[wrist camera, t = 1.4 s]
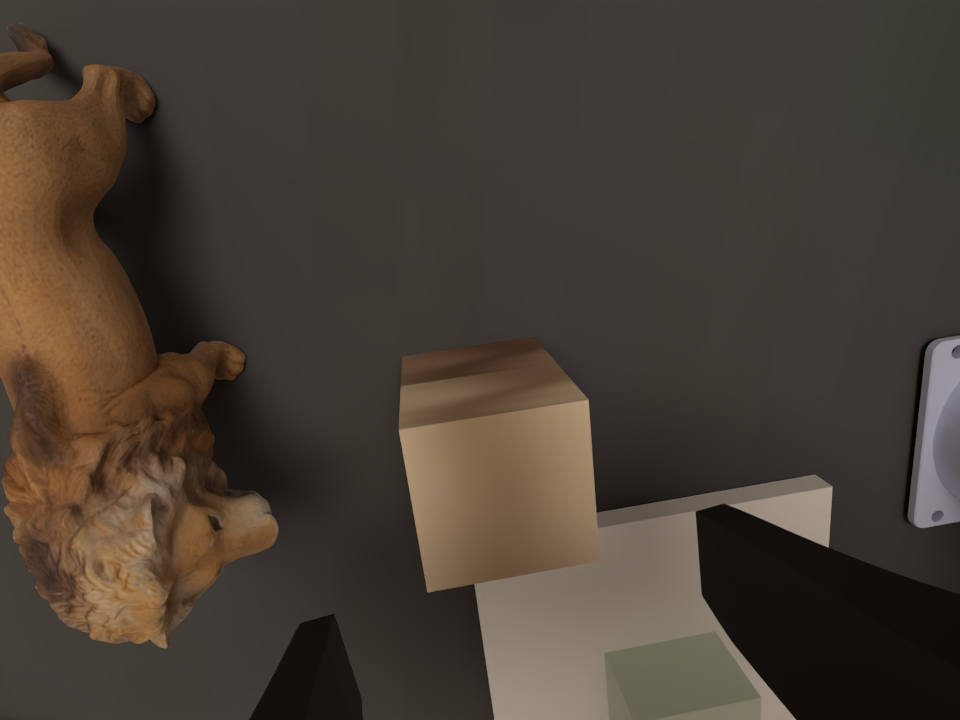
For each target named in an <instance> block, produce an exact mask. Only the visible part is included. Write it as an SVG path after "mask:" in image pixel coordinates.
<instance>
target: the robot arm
mask: <svg viewBox="0 0 960 720" xmlns="http://www.w3.org/2000/svg"><path fill="white" fill-rule="evenodd" d="M954 347H955V350H954V352H953V353H952V350H953V349H954ZM695 512H696V525H697V539H698V552H699V566H700V579H701V593H702V596H703V598H704V600H705V601H706V603H707V604H708V606H709V608H710V609H711V611H712V612H713V614H714V616H715V617H716V619H717V620H718V622H719V623H720V625H721V626H722V628H723V629H724V631H725V632H726V634H727V635H728V637H729V638H730V640H731V641H732V643H733V644H734V645H735V646H736V648H737V649H738V650H739V651H740V653H741V654H742V655H743V656H744V658H745V659H746V660H747V661H748V662H749V664H750V665H751V666H752V667H753V669H754V670H755V671H756V672H757V673H758V675H759V676H760V677H761V678H762V679H763V681H764V682H765V683H766V684H767V685H768V687H769V688H770V689H771V690H772V691H773V693H774V694H775V695H776V696H777V697H778V699H779V700H780V701H781V702H782V703H783V705H784V706H785V707H786V708H787V709H788V711H789V712H790V713H791V714H792V715H793V717H794V718H795V719H796V720H960V594H957V593H954V592H950V591H947V590H944V589H941V588H937V587H934V586H931V585H928V584H925V583H922V582H919V581H916V580H913V579H910V578H907V577H904V576H901V575H898V574H896V573H893V572H890V571H888V570H885V569H882V568H879V567H877V566H874V565H871V564H869V563H866V562H863V561H861V560H858V559H856V558H853V557H850V556H848V555H845V554H843V553H840V552H838V551H835V550H833V549H831V548H828V547H826V546H823V545H821V544H819V543H816V542H814V541H811V540H809V539H807V538H804V537H802V536H800V535H797V534H795V533H793V532H790V531H788V530H786V529H783V528H781V527H779V526H777V525H774V524H772V523H770V522H767V521H765V520H763V519H760V518H758V517H756V516H753V515H751V514H749V513H746V512H744V511H742V510H739V509H737V508H734V507H732V506H729V505H726V504H720V505H717V506H713V507H709V508H706V509H702V510H699V511H695ZM908 520H909V522H910V523H912V524H913V525H915V526H916V527H918V528H927V527H932V526H938V525H943V524H948V523H954V522H959V521H960V335H959V336H953V337H946V338H940V339H937V340H934V341H933V342H931V343H930V344H929V346H928V347H927V349H926V352H925V360H924V369H923V378H922V387H921V397H920V406H919V415H918V424H917V434H916V443H915V452H914V461H913V471H912V480H911V489H910V498H909V508H908ZM249 720H363V715H362V700H361V696H360V692H359V689H358V686H357V683H356V680H355V677H354V674H353V671H352V668H351V665H350V661H349V658H348V655H347V652H346V649H345V646H344V643H343V640H342V637H341V634H340V631H339V627H338V624H337V621H336V618H335V615H334V614H332V615H328V616H325V617H321V618H318V619H314V620H311V621H307V622H303V623H301V624H300V625H299V627H298V628H297V630H296V632H295V634H294V636H293V638H292V639H291V641H290V643H289V645H288V647H287V649H286V651H285V653H284V655H283V657H282V659H281V661H280V663H279V665H278V667H277V669H276V671H275V673H274V675H273V677H272V679H271V680H270V682H269V684H268V686H267V688H266V690H265V692H264V694H263V695H262V697H261V699H260V701H259V703H258V704H257V706H256V708H255V710H254V712H253V714H252V715H251V717H250V719H249Z"/></svg>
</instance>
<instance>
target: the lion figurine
mask: <svg viewBox="0 0 960 720" xmlns="http://www.w3.org/2000/svg"><path fill="white" fill-rule="evenodd" d="M6 30H7V32H8V34H9V36H10V38H11V39H12V40H13V42H14V43H15V45H16V47H17V48H18V51H19V52H6V53H0V377H1V379H2V381H3V384H4V386H5V389H6V391H7V394H8V396H9V399H10V402H11V404H12V407H13V410H14V416H13V419H12V423H11V426H10V429H9V432H8V440H9V443H10V446H11V448H12V452H11V454H10V456H9V457H8V458H7V459H6V463H5V465H4V468H3V471H2V475H3V477H2V485H3V486H4V491H5V494H6V497H7V499H8V500H9V501H10V503H9V504H8V505H7V506H6V507H5V508H4V511H5V514H6V515H7V516H8V517H9V518H10V520H11V522H12V524H13V526H14V527H15V529H14V531H13V538H14V541H15V542H16V543H17V544H19V545H20V547H19V550H20V553H21V554H22V555H23V556H24V558H25V561H26V566H27V568H28V570H29V572H31V573H32V574H34V575H36V576H37V577H38V580H37V583H36V586H35V588H36V590H37V592H38V593H39V595H40V596H41V597H43V598H44V599H46V600H48V601H50V606H51V608H52V609H53V610H54V611H55V612H56V613H57V615H58V617H59V618H60V619H61V620H62V621H63V622H64V623H65V624H66V625H67V626H69V627H72V628H76V629H78V630H80V631H83V632H89V636H90V637H91V639H94V640H99V641H104V642H108V643H123V642H126V641H132V642H133V643H136V644H140V643H144V642H146V641H148V640H151V641H152V642H153V643H155V644H156V645H157V646H159V647H161V648H167V647H168V646H169V636H170V635H171V634H172V632H173V631H174V630H175V628H176V627H177V626H178V625H179V623H180V622H181V621H182V620H185V619H186V618H187V616H188V614H189V612H190V611H191V610H192V608H193V607H194V605H195V602H196V601H197V600H198V598H199V597H200V596H201V595H202V594H203V593H204V592H205V590H206V589H207V588H208V587H210V586H211V585H212V584H214V583H215V580H216V579H217V578H218V577H219V576H220V574H221V572H222V571H223V569H224V567H225V566H226V565H227V564H228V563H230V562H231V561H233V560H236V559H238V558H241V557H244V556H248V555H252V554H255V553H258V552H260V551H263V550H265V549H267V548H269V547H270V546H272V545H273V544H274V543H275V542H276V539H277V535H278V523H277V520H276V519H275V518H274V517H273V516H272V515H271V507H270V505H269V503H268V501H267V500H266V499H264V498H263V497H261V496H260V494H258V493H257V492H255V491H251V490H250V491H244V490H228V482H227V478H226V475H225V473H224V471H223V470H222V469H220V468H219V467H218V466H217V465H216V464H215V462H214V461H213V460H212V457H213V444H214V439H215V438H214V435H213V434H212V433H211V430H210V427H209V424H208V421H207V418H206V416H205V414H204V413H203V411H202V410H201V406H202V404H203V402H204V400H205V399H206V397H207V395H208V394H209V392H210V390H211V387H212V385H213V383H214V380H215V379H217V380H222V379H226V380H234V379H235V378H236V376H237V375H238V374H239V373H241V372H242V371H243V369H244V362H245V359H246V356H245V354H244V353H243V352H241V351H240V350H239V349H238V348H236V347H235V346H233V345H230V344H228V343H225V342H223V341H211V342H205V341H202V342H199V343H198V344H197V345H196V346H195V347H194V349H193V350H192V351H191V352H190V353H188V354H178V353H175V352H167V353H163V354H160V355H157V353H156V351H155V346H154V342H153V338H152V335H151V331H150V328H149V325H148V322H147V319H146V316H145V313H144V311H143V308H142V306H141V304H140V302H139V300H138V297H137V295H136V293H135V291H134V289H133V287H132V285H131V283H130V280H129V278H128V276H127V274H126V273H125V271H124V269H123V268H122V266H121V264H120V263H119V261H118V260H117V258H116V257H115V255H114V253H113V252H112V251H111V250H110V249H109V248H108V247H107V246H106V245H105V244H104V243H103V241H102V240H101V239H100V237H99V236H98V234H97V232H96V230H95V227H94V221H93V215H94V211H95V208H96V207H97V205H98V204H99V202H100V201H101V199H102V198H103V197H104V196H105V195H106V194H107V192H108V191H109V190H110V189H111V188H112V186H113V185H114V183H115V181H116V179H117V177H118V175H119V172H120V169H121V166H122V163H123V160H124V157H125V153H126V148H127V132H126V123H125V119H128V120H130V121H133V122H135V123H142V122H143V121H144V120H145V118H147V117H149V116H150V115H151V114H152V113H153V110H154V107H155V104H156V99H155V96H154V93H153V91H152V90H151V88H150V86H149V85H148V84H147V83H146V82H145V81H144V80H143V78H141V77H140V76H138V75H137V74H135V73H133V72H131V71H129V70H126V69H124V68H121V67H115V66H106V65H98V64H91V65H87V66H85V67H84V68H83V71H82V72H83V77H84V79H83V86H82V88H81V89H80V91H79V92H78V93H77V94H76V95H75V96H74V97H73V98H72V99H70V100H66V101H44V100H17V101H12V102H11V101H10V100H9V99H8V98H7V96H6V95H5V94H4V93H3V92H5V91H6V90H9V89H11V88H13V87H15V86H18V85H21V84H23V83H25V82H28V81H30V80H33V79H37V78H41V77H42V76H44V75H47V74H48V73H49V72H51V70H52V68H53V66H54V61H53V58H52V56H51V55H50V54H49V51H48V47H47V42H46V40H45V39H44V38H43V37H41V36H39V35H38V34H37V33H36V32H35V31H34V30H33V29H32V28H31V27H29V26H27V25H26V24H24V23H20V22H15V23H12V24H10V25H9V26H8V27H6Z"/></svg>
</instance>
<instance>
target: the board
mask: <svg viewBox="0 0 960 720" xmlns="http://www.w3.org/2000/svg"><path fill="white" fill-rule="evenodd" d="M832 488H833V487H832V486H831V485H829V484H828V483H826V482H825V481H824V480H822V479H821V478H819V477H818V476H816V475H809V476H803V477H798V478H792V479H786V480H781V481H775V482H769V483H763V484H758V485H752V486H746V487H741V488H735V489H729V490H723V491H718V492H712V493H706V494H700V495H695V496H689V497H683V498H678V499H672V500H666V501H660V502H655V503H649V504H643V505H637V506H632V507H626V508H620V509H615V510H609V511H603V512H597V527H598V541H599V555H600V561H598V562H593V563H587V564H582V565H576V566H571V567H565V568H560V569H554V570H549V571H543V572H538V573H532V574H527V575H521V576H516V577H510V578H505V579H499V580H494V581H488V582H483V583H477V584H474V586H475V593H476V600H477V607H478V613H479V620H480V627H481V634H482V640H483V647H484V654H485V661H486V668H487V674H488V681H489V688H490V695H491V701H492V708H493V715H494V720H796V719H795V718H794V717H793V715H792V714H791V713H790V712H789V711H788V709H787V708H786V707H785V706H784V705H783V703H782V702H781V701H780V700H779V699H778V697H777V696H776V695H775V694H774V693H773V691H772V690H771V689H770V688H769V687H768V685H767V684H766V683H765V682H764V681H763V679H762V678H761V677H760V676H759V675H758V673H757V672H756V671H755V670H754V669H753V667H752V666H751V665H750V664H749V662H748V661H747V660H746V659H745V658H744V656H743V655H742V654H741V653H740V651H739V650H738V649H737V648H736V646H735V645H734V644H733V643H732V641H731V640H730V638H729V637H728V635H727V634H726V632H725V631H724V629H723V628H722V626H721V625H720V623H719V622H718V620H717V619H716V617H715V616H714V614H713V612H712V611H711V609H710V608H709V606H708V604H707V603H706V601H705V600H704V598H703V596H702V593H701V579H700V566H699V552H698V539H697V525H696V512H695V511H699V510H702V509H706V508H709V507H713V506H717V505H720V504H726V505H729V506H732V507H734V508H737V509H739V510H742V511H744V512H746V513H749V514H751V515H753V516H756V517H758V518H760V519H763V520H765V521H767V522H770V523H772V524H774V525H777V526H779V527H781V528H783V529H786V530H788V531H790V532H793V533H795V534H797V535H800V536H802V537H804V538H807V539H809V540H811V541H814V542H816V543H819V544H821V545H823V546H826V547H828V548H829V535H830V519H831V503H832Z"/></svg>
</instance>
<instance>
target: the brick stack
mask: <svg viewBox="0 0 960 720" xmlns="http://www.w3.org/2000/svg"><path fill="white" fill-rule="evenodd" d="M399 434H400V440H401V445H402V451H403V457H404V462H405V468H406V474H407V479H408V485H409V491H410V496H411V502H412V508H413V513H414V519H415V525H416V530H417V536H418V542H419V547H420V553H421V559H422V564H423V570H424V576H425V581H426V587H427V593H428V592H433V591H439V590H444V589H450V588H455V587H461V586H466V585H472V584H477V583H483V582H488V581H494V580H499V579H505V578H510V577H516V576H521V575H527V574H532V573H538V572H543V571H549V570H554V569H560V568H565V567H571V566H576V565H582V564H587V563H593V562H598V561H600V555H599V541H598V527H597V513H596V498H595V484H594V470H593V456H592V442H591V428H590V414H589V400H588V399H587V397H586V396H585V395H584V394H583V393H582V392H581V391H580V389H579V388H578V387H577V386H576V385H575V384H574V382H573V381H572V380H571V379H570V378H569V377H568V376H567V374H566V373H565V372H564V371H563V370H562V369H561V367H560V366H559V365H558V364H557V363H556V362H555V361H554V359H553V358H552V357H551V356H550V355H549V354H548V352H547V351H546V350H545V349H544V348H543V347H542V345H541V344H540V343H539V342H538V341H537V340H536V339H535V337H530V338H523V339H516V340H510V341H503V342H496V343H490V344H483V345H476V346H469V347H463V348H456V349H449V350H443V351H436V352H429V353H422V354H416V355H409V356H402V368H401V391H400V414H399Z"/></svg>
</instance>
